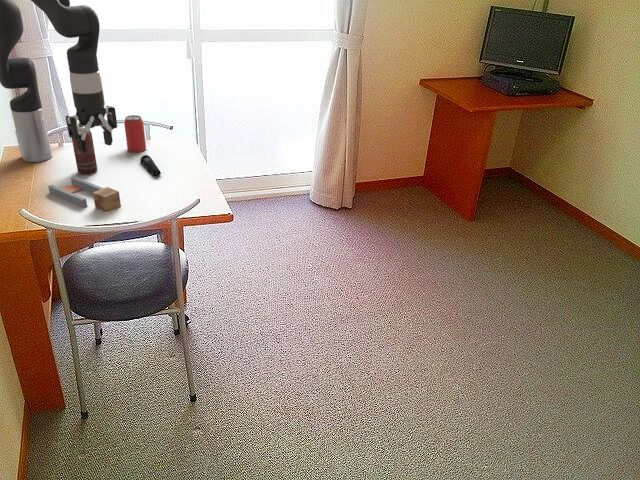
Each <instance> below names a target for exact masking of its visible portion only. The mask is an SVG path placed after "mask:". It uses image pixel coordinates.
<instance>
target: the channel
mask: <svg viewBox="0 0 640 480" xmlns="http://www.w3.org/2000/svg"><path fill="white" fill-rule="evenodd" d="M70 180H71V184H68V185H65V186H64V187H63V186H62V187H59V186H57V185H54V184H48V186H47V187H48V192H49V194H51V195H53V196H54V197H58V198H60V199H62V200H64V201H68V203H71V204H74V205H76V206H78V207H81V208H83V209H84V208H88V203H87V202H88V201H87V198H85V197H83V196H81V195H79V194H77V193H76V192H79V191H86V192H88V193H91V194H93V192H95V191H98V190H101V189H103V188H104V187H102V186H99V185H97V184H95V183H92V182H89V181H86V180H84V179H81V178H80V177H77V176H72V177H70Z"/></svg>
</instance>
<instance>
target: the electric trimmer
mask: <svg viewBox="0 0 640 480" xmlns="http://www.w3.org/2000/svg"><path fill="white" fill-rule="evenodd" d="M140 163H141V164H142V163H143V164H144V166H145V167H146V170H147V171H148V172H149V173H150V174H152V176H158V175H161V174H162V173H161V171H160V169H159V167H158V166H157V165H156V163H155V162H154V160H153V159H152V157H151V156H150V155H149V154H145V155H142V156H141V157H140Z"/></svg>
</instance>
